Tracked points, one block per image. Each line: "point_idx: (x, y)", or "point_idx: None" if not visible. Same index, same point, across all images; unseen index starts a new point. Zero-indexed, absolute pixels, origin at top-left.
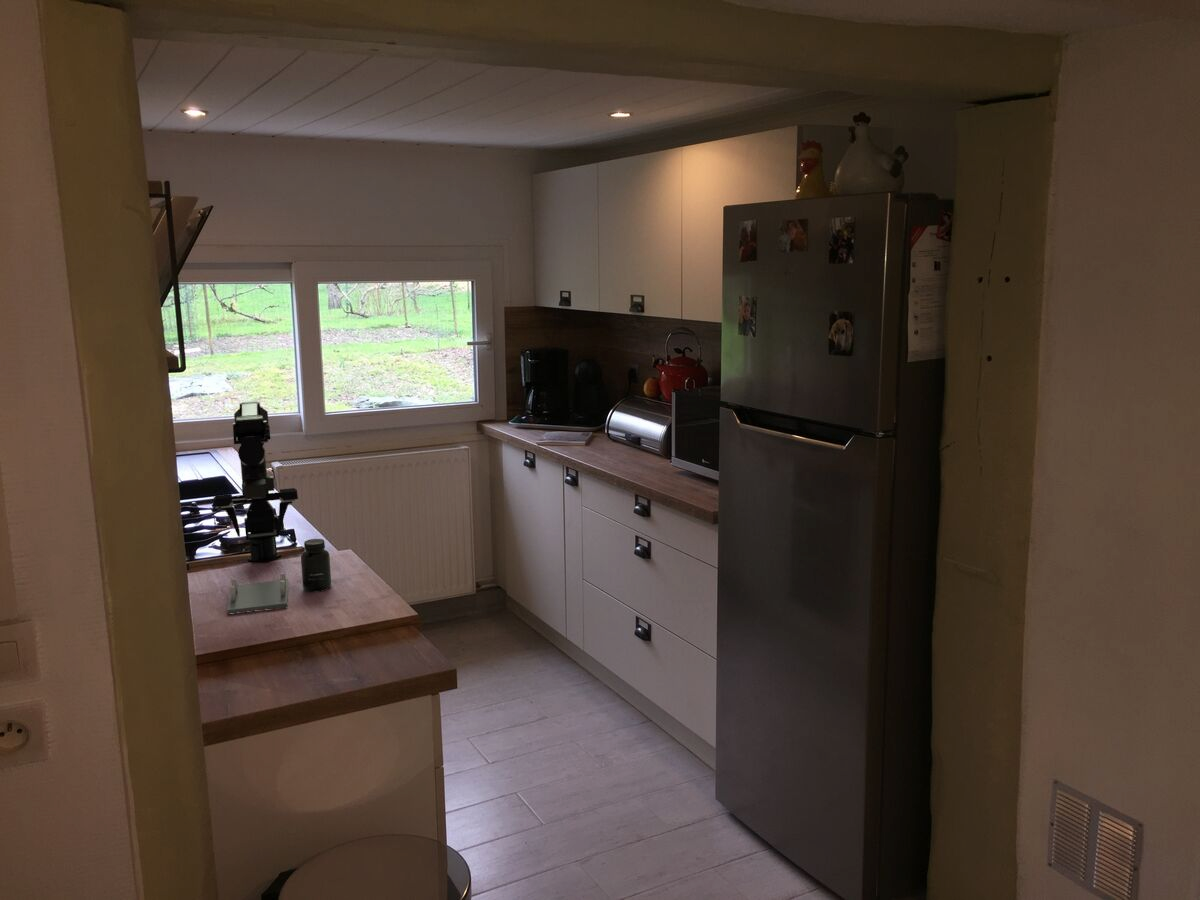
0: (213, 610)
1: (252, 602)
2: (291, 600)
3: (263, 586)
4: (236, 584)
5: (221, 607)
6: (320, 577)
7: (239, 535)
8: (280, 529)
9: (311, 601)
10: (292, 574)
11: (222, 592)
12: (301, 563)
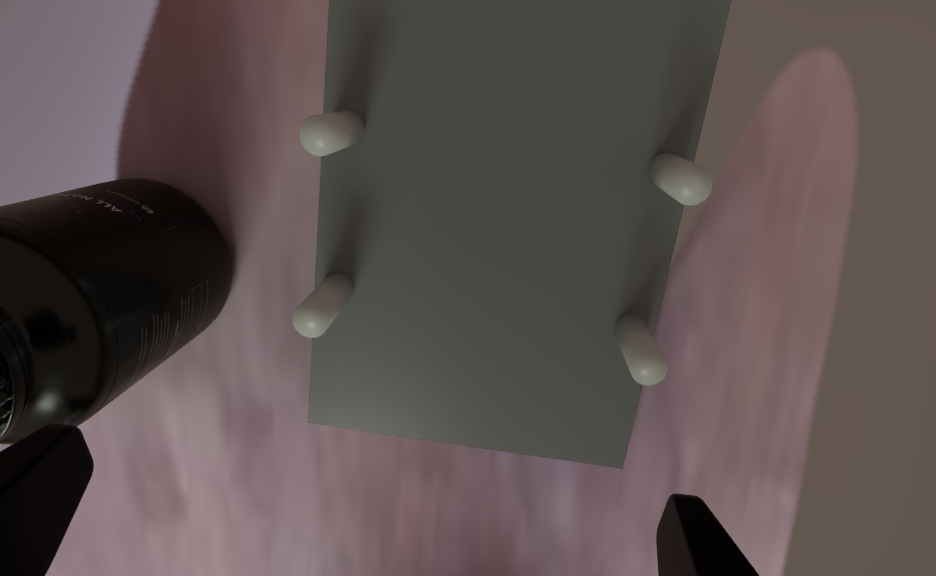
0: (788, 138)
1: (552, 72)
2: (310, 96)
3: (454, 362)
4: (627, 341)
5: (732, 174)
6: (66, 191)
7: (677, 500)
8: (22, 441)
9: (188, 10)
10: (290, 547)
11: (679, 442)
12: (136, 313)
